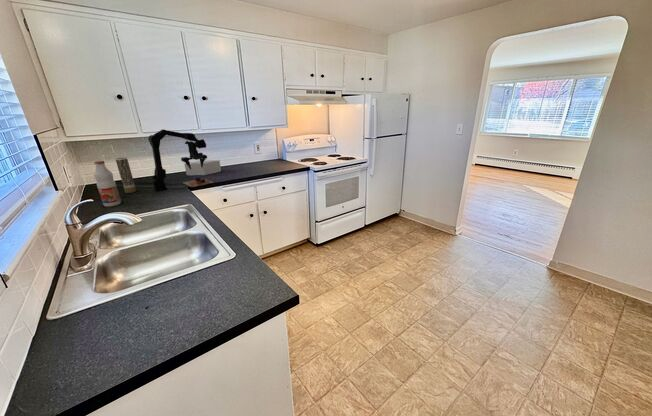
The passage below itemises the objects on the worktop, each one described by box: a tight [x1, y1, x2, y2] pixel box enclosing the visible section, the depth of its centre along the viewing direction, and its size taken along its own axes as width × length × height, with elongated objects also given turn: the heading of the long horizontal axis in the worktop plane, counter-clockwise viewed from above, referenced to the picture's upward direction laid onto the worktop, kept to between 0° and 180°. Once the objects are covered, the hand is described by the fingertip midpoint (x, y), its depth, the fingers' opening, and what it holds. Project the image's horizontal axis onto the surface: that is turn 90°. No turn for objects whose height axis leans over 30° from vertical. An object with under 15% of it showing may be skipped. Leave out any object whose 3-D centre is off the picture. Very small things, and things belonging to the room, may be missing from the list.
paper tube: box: [115, 157, 137, 194], centre depth 193 cm, size 7×7×25 cm
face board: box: [182, 178, 215, 188], centre depth 219 cm, size 18×18×1 cm
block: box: [183, 159, 222, 176], centre depth 248 cm, size 15×30×11 cm, turn 119°
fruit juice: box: [93, 160, 122, 207], centre depth 168 cm, size 9×9×28 cm
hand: (196, 168), depth 219 cm, fingers open, 9 cm apart
